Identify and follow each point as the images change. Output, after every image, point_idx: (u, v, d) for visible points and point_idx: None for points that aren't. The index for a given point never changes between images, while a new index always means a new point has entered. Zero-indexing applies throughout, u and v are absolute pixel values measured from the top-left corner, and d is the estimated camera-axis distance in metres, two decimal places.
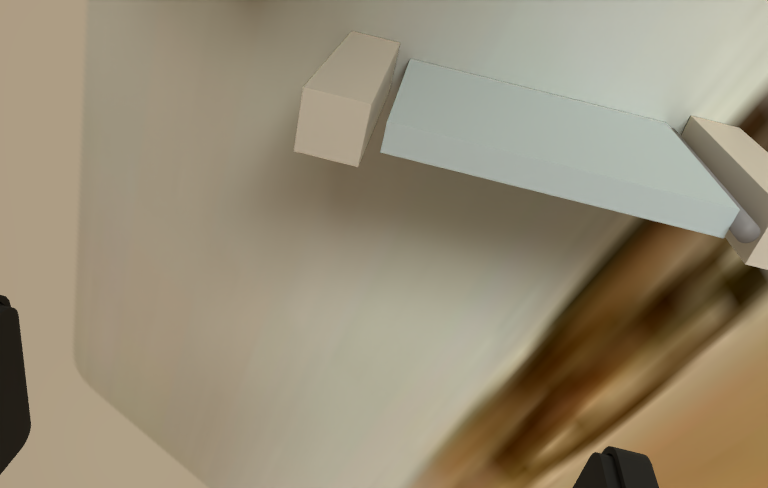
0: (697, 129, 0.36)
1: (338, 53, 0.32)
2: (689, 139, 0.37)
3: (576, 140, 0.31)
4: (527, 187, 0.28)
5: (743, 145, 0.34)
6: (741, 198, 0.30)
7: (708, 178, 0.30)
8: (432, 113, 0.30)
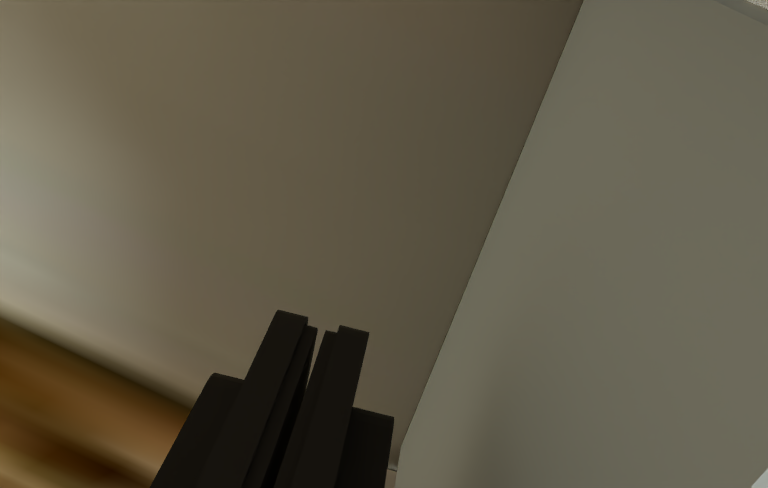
0: None
1: None
2: None
3: None
4: None
5: None
6: None
7: None
8: None
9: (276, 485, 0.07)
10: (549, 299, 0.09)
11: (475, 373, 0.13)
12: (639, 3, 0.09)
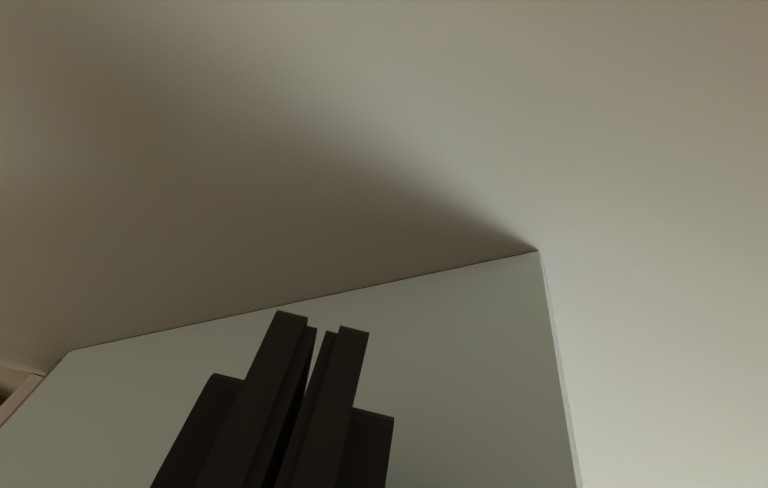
0: None
1: None
2: None
3: None
4: None
5: None
6: None
7: None
8: None
9: (277, 485, 0.07)
10: None
11: None
12: (534, 359, 0.13)
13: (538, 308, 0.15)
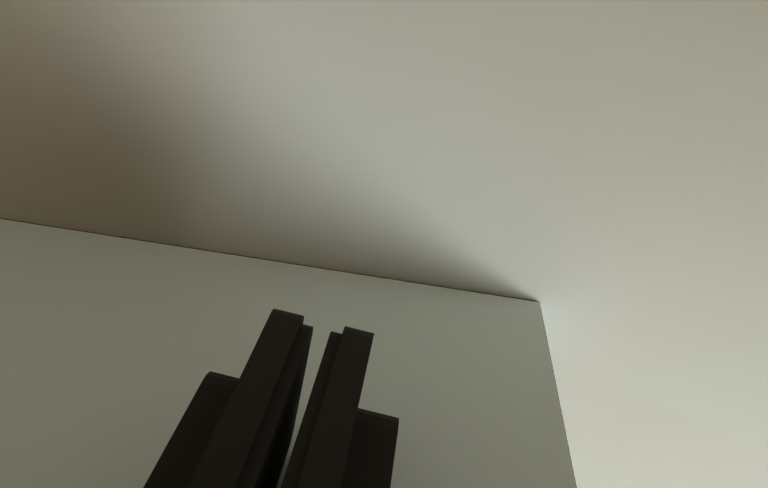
0: None
1: None
2: None
3: None
4: None
5: None
6: None
7: None
8: None
9: (282, 486, 0.07)
10: None
11: (192, 372, 0.13)
12: (542, 418, 0.13)
13: (542, 363, 0.15)
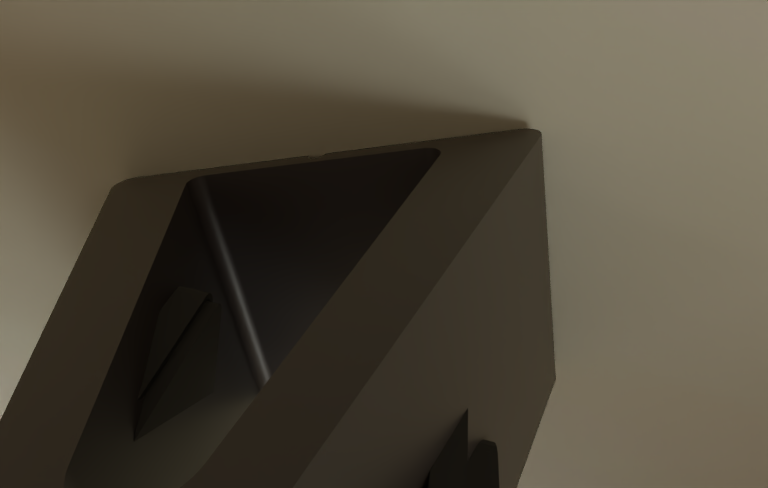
0: None
1: None
2: None
3: None
4: None
5: None
6: None
7: None
8: None
9: None
10: None
11: None
12: None
13: None
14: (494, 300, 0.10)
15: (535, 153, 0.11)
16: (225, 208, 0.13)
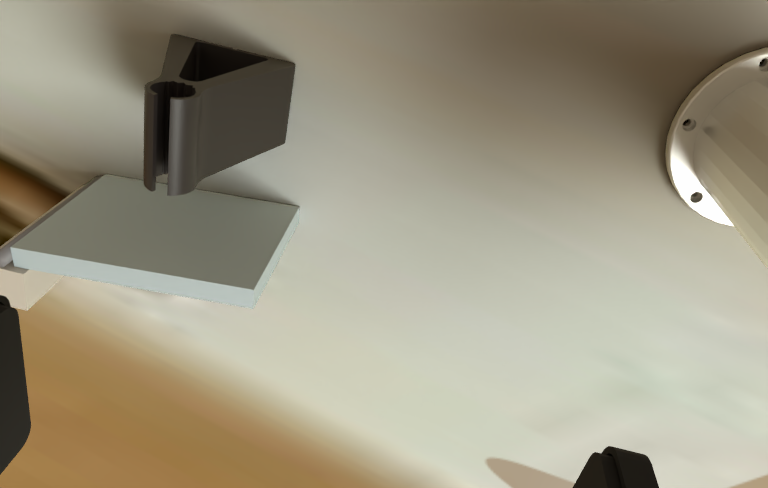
0: None
1: None
2: None
3: None
4: (148, 272, 0.39)
5: None
6: None
7: None
8: None
9: None
10: (213, 238, 0.44)
11: (177, 217, 0.46)
12: (278, 232, 0.46)
13: (288, 221, 0.47)
14: (264, 94, 0.42)
15: (290, 68, 0.43)
16: (203, 54, 0.44)
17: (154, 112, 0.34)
